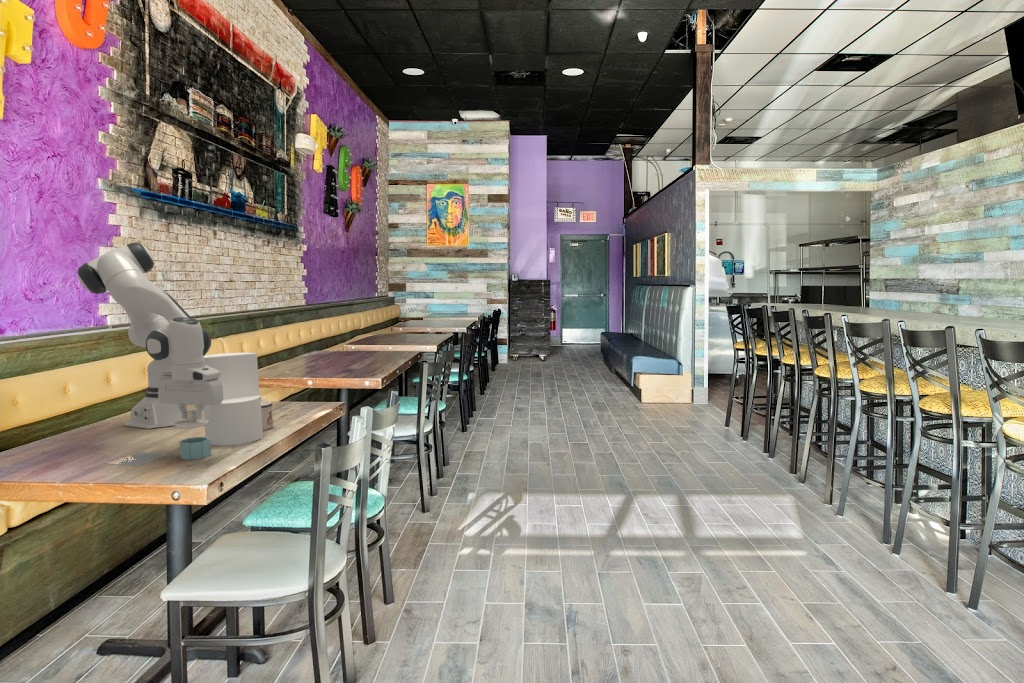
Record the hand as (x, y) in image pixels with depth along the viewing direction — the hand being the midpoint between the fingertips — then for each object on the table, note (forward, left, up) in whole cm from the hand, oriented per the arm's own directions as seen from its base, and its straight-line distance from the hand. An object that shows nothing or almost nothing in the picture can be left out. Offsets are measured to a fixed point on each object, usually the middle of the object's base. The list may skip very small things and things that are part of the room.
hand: (191, 418), depth 182 cm
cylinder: (-2, +20, -12) cm, 24 cm away
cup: (0, 0, -12) cm, 12 cm away
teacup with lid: (-4, +36, -12) cm, 38 cm away
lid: (0, 0, -2) cm, 2 cm away
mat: (-15, -6, -12) cm, 20 cm away
